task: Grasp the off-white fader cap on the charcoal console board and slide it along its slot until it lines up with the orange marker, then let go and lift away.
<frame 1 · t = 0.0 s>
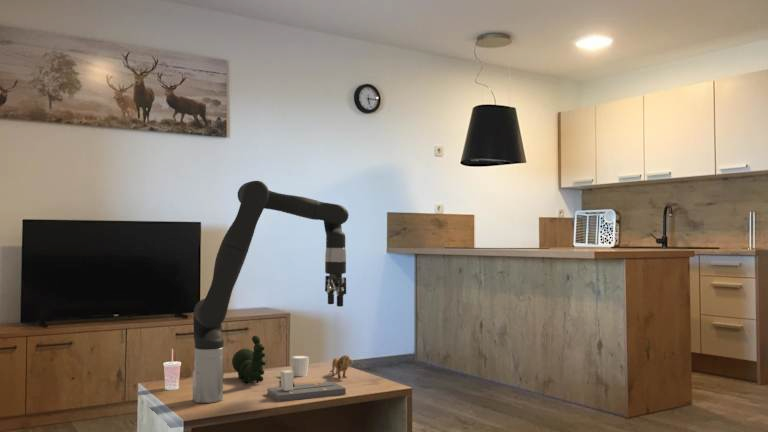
hand: (335, 305, 240), 29 cm above the table, fingers open, 8 cm apart
white cup: (300, 375, 261), on the table
console: (306, 394, 228), on the table
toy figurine: (248, 381, 250), on the table
lion figurine: (340, 377, 258), on the table
fader: (287, 383, 225), point 4 cm above the table, slide at 0.0 cm
beverage cup: (171, 388, 236), on the table
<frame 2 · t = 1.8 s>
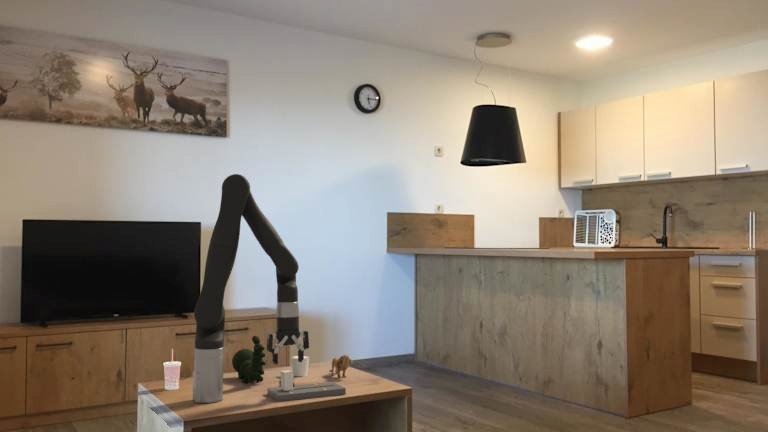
hand: (288, 363, 225), 11 cm above the table, fingers open, 8 cm apart
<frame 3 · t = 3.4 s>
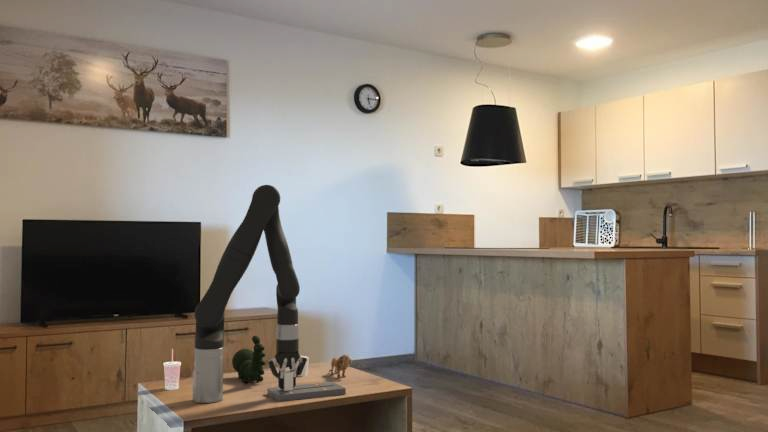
hand: (287, 388, 225), 3 cm above the table, fingers closed on fader, 3 cm apart
fader: (287, 383, 225), point 4 cm above the table, slide at 0.0 cm, touching gripper
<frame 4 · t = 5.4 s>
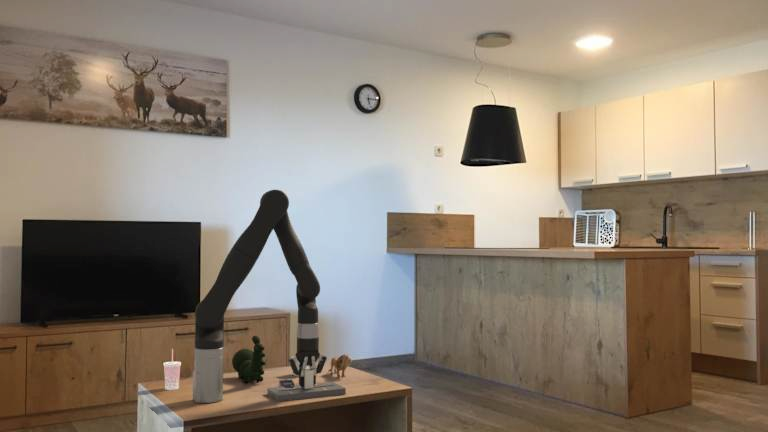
hand: (307, 386, 228), 3 cm above the table, fingers closed on fader, 3 cm apart
fader: (307, 381, 228), point 4 cm above the table, slide at 7.3 cm, touching gripper
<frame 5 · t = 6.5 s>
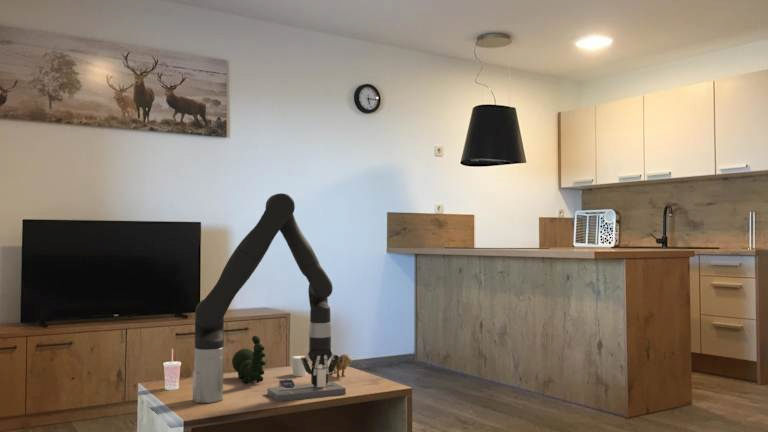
hand: (319, 385, 230), 3 cm above the table, fingers closed on fader, 3 cm apart
fader: (319, 379, 230), point 4 cm above the table, slide at 11.8 cm, touching gripper
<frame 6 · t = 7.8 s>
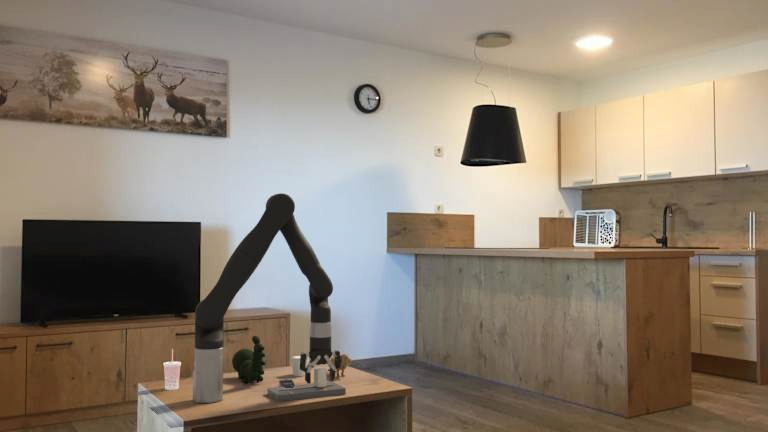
hand: (320, 382, 230), 4 cm above the table, fingers open, 8 cm apart
fader: (320, 379, 230), point 4 cm above the table, slide at 11.9 cm
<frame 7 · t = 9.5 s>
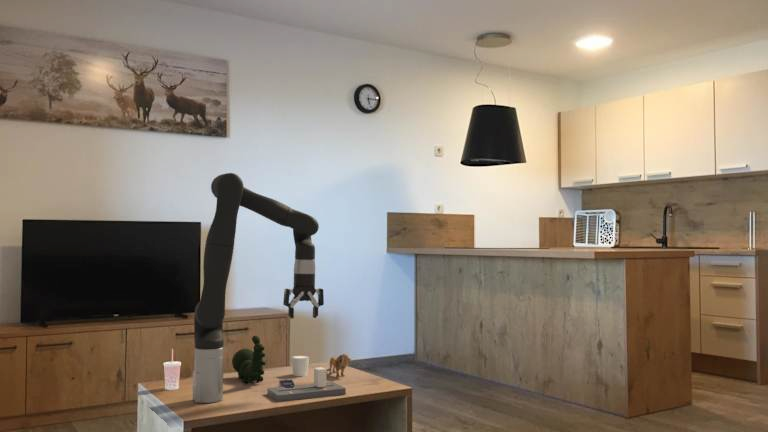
hand: (303, 318, 236), 25 cm above the table, fingers open, 8 cm apart
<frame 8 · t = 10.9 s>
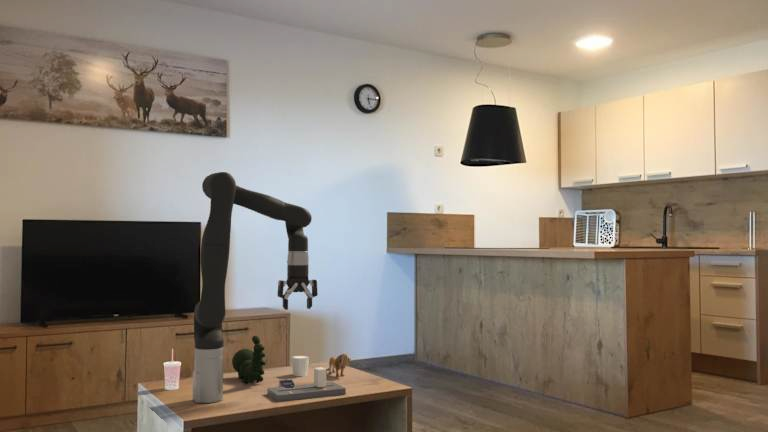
hand: (297, 309, 238), 28 cm above the table, fingers open, 8 cm apart
at the end: fader slide at 11.9 cm; the gripper is holding nothing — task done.
